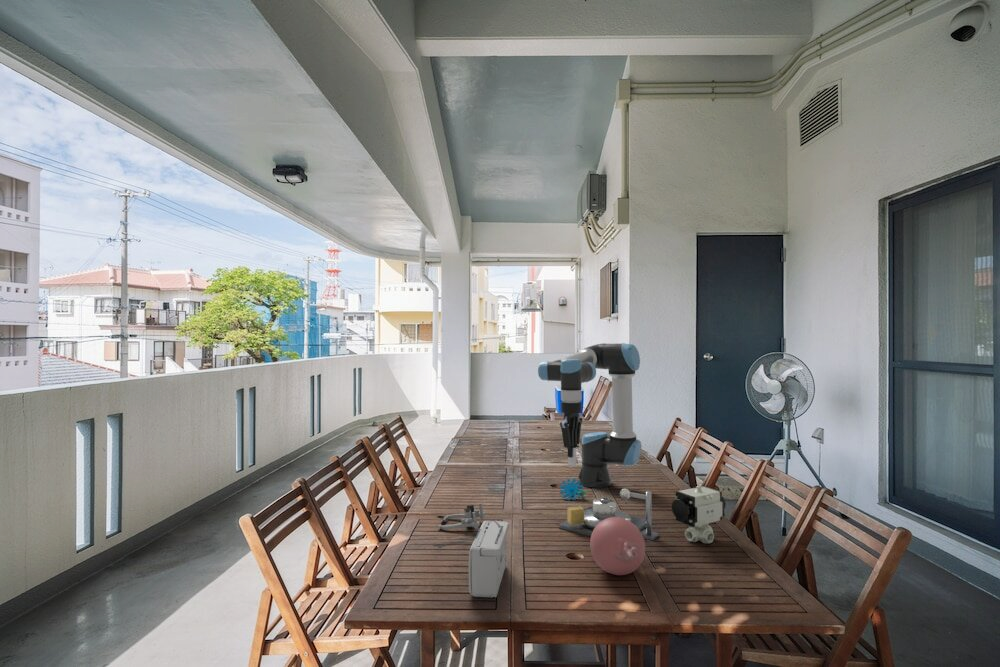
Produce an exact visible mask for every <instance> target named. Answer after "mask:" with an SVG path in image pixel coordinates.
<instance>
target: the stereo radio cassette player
mask: <svg viewBox="0 0 1000 667" xmlns="http://www.w3.org/2000/svg"><path fill="white" fill-rule="evenodd" d="M482 521H483V522H482V524H480V528H478V529H479V530H478V531H477V534H476V536H475V537H474V540H473V542H472V544H471V546H470V548H469V551H468V552H469V553H468V591H469V594H470V595H471V596H473V597H474V598H493V597H495V598H497V596H498V594H499V590H500V586H501V582H502V580H503V576H504V573H505V570H506V566H507V534H508V531H509V528H510V524H509V522H508V521H504V520H503V521H499V520H482Z"/></svg>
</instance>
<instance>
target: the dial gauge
mask: <svg viewBox="0 0 1000 667" xmlns="http://www.w3.org/2000/svg"><path fill="white" fill-rule="evenodd" d="M619 497H620V498H621V499H622V500H625V502H624V503H625V505H627V504H628V500H629V499H630V498H636V499H641V500H645V519H646V527H645V528H644V529H642V530H641V531H640V532H641V534H642V536H643V538H644V540H645V539H646V540H650V541H655V539H657V538H658V537H659V532H657V531H654V530H653V531H652V491H649V490H647V491H645V494H643V493H639V492H638V493H637V492H632V491H630V490H629V489H628V488H622V489H621V490H620V491H619Z"/></svg>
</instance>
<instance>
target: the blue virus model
mask: <svg viewBox="0 0 1000 667" xmlns="http://www.w3.org/2000/svg"><path fill="white" fill-rule="evenodd" d="M566 481H567V483H566ZM576 481H577V482H576ZM559 489H560V490H559V494H560V495H561V494H562V498H563V499H567V500H566V501H568V502H569V501H571V498H572V500H573V502H574V501H577V499H576V495H577V498H578V499H580V498H582V499H583V498H584V497H585V496H584V495H585V494H587V490H586V489H584V486H583V485H580V481H578V480H576V478H572V481H571V478H566V480H563V481H562V484H560V485H559ZM583 489H584V490H583Z"/></svg>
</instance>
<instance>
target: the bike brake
mask: <svg viewBox="0 0 1000 667" xmlns="http://www.w3.org/2000/svg"><path fill="white" fill-rule="evenodd" d="M478 507H479V508H478V509H476V508H475V505H473V504H472V505H471V504H470V505H466V508H464V509H463V510H464V513H453V514H446V515H445V516H444V515H437V516H438V517H437V518H442V521H441V522H440V524H439V525H438V530H439V531H441V530H440V529H442V530H451V529H459V528H465V527H466V528H467V527H468V528H467V529H474V530H478V529H479V526H481V524H480V523H481V522H480V521H477V518H479V519H481V520H484V519H485V516H486V513H485V511H484V510H483V504H482V502H479V503H478ZM455 518H461V519H460V521H461V522H458V523H455V524H446V523H447V522H448V521H449V519H455ZM445 522H446V523H445ZM445 524H446V525H445Z"/></svg>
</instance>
